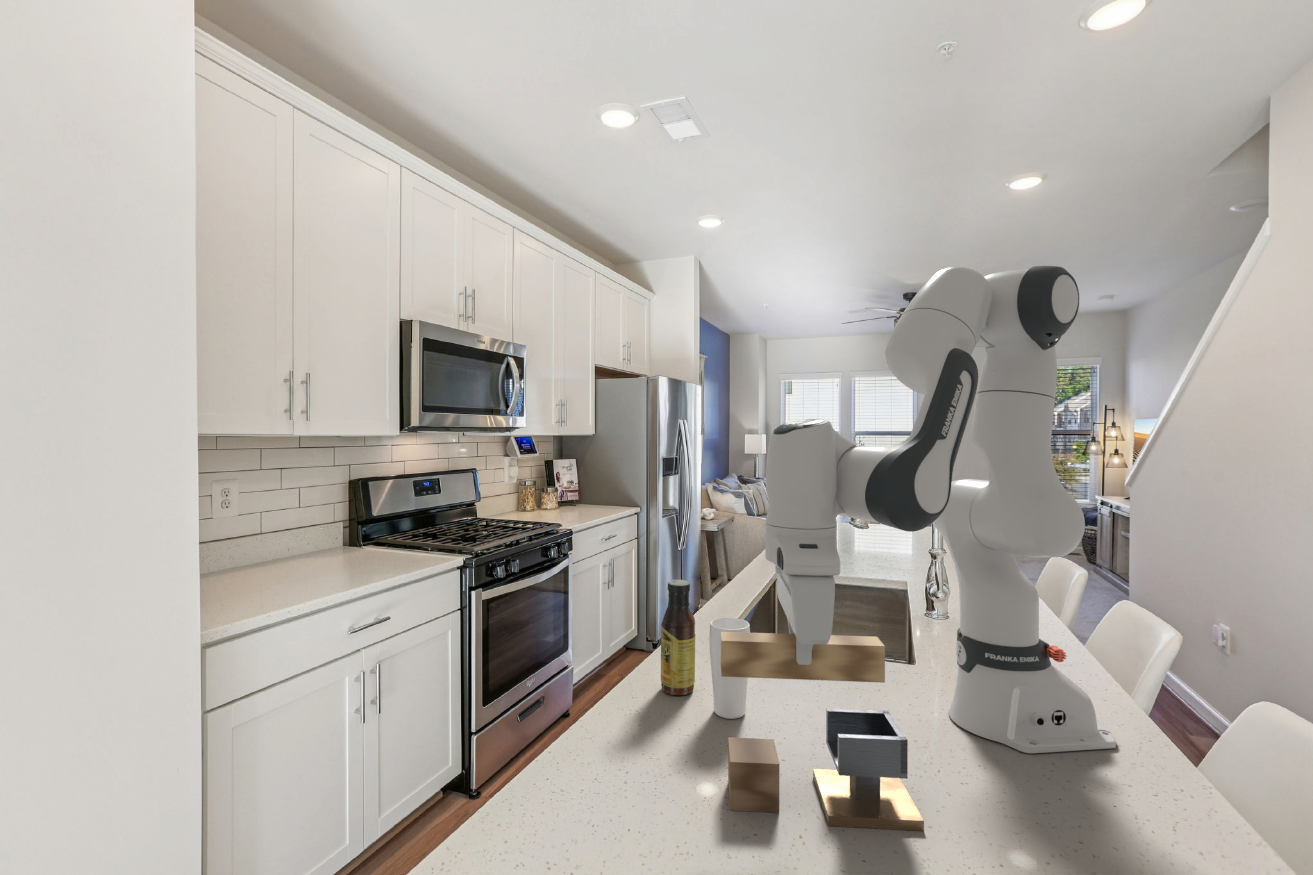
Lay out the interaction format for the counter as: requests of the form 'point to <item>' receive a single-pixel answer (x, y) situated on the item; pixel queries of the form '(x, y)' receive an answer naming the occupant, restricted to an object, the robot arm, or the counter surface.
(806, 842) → the counter surface
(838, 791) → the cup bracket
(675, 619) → the sauce bottle
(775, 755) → the walnut block
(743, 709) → the drinking glass
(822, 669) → the oak rail
